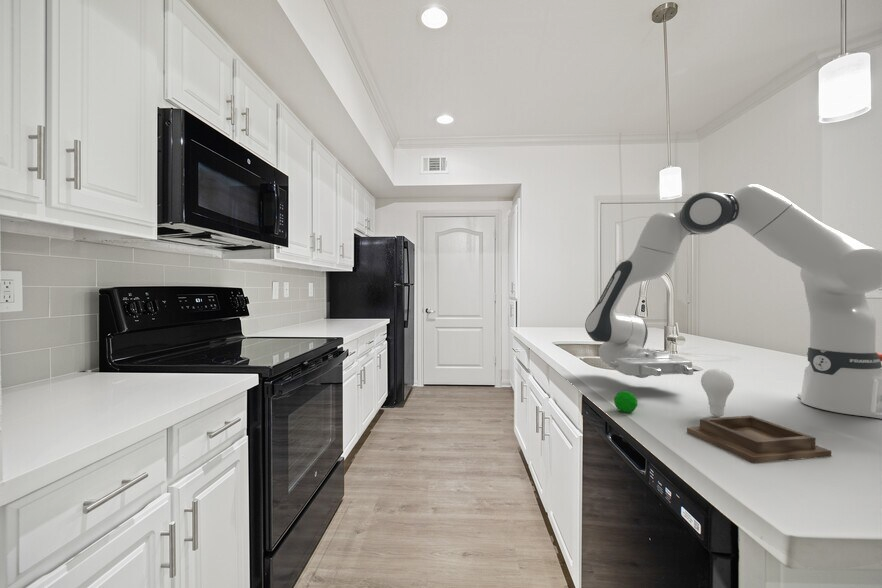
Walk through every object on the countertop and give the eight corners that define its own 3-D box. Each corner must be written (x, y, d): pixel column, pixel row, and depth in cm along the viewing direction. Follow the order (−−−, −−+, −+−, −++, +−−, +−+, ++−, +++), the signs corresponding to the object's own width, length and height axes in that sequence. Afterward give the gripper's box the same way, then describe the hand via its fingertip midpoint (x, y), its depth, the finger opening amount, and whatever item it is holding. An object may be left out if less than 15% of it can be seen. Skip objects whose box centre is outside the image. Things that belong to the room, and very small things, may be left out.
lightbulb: (722, 413, 90) (723, 366, 90) (740, 422, 84) (740, 372, 84) (695, 412, 91) (695, 366, 91) (710, 421, 85) (711, 371, 85)
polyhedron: (609, 410, 92) (610, 391, 92) (621, 407, 95) (621, 388, 95) (629, 416, 88) (630, 396, 88) (641, 412, 91) (641, 392, 91)
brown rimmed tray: (753, 427, 81) (754, 413, 81) (831, 456, 67) (831, 439, 67) (687, 432, 78) (687, 417, 78) (753, 463, 64) (753, 445, 64)
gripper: (607, 351, 111) (639, 361, 98) (669, 350, 115) (708, 359, 101) (606, 373, 111) (638, 385, 98) (669, 371, 115) (708, 383, 101)
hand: (674, 372), depth 99 cm, fingers open, 8 cm apart
